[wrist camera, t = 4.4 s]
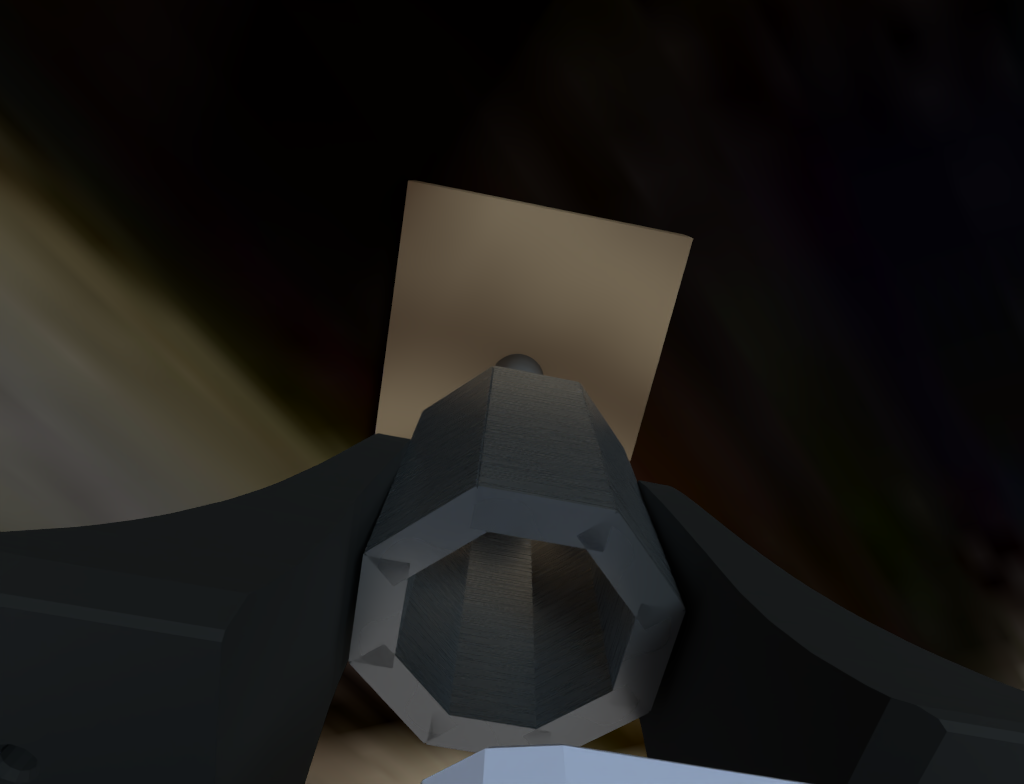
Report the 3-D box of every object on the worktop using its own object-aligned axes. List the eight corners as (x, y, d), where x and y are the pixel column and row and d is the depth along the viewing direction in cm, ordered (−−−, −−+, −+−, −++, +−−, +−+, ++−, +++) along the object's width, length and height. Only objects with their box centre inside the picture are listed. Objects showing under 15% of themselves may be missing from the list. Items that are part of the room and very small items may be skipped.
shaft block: (602, 523, 22) (628, 633, 16) (374, 483, 21) (327, 583, 16) (682, 234, 18) (746, 257, 13) (415, 180, 18) (372, 182, 13)
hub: (590, 570, 14) (628, 776, 9) (401, 536, 14) (338, 730, 9) (640, 394, 12) (714, 528, 8) (431, 353, 12) (375, 467, 7)
